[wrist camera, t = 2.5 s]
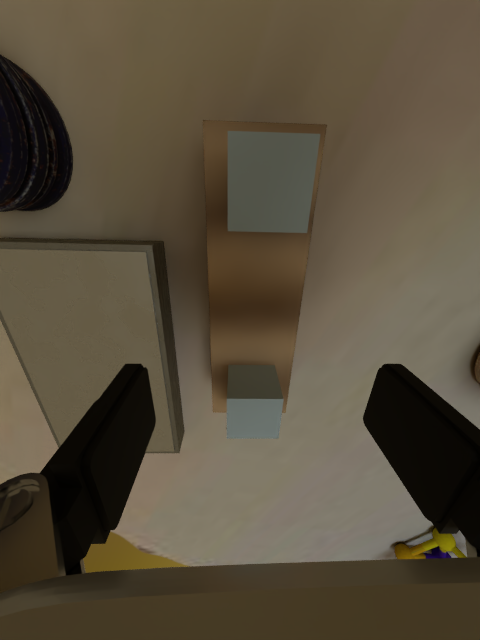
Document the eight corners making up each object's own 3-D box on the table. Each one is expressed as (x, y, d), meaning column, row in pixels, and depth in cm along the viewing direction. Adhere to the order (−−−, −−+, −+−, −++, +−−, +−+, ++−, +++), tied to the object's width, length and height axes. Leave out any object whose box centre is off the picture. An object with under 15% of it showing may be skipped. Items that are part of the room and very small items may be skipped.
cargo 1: (297, 156, 13) (320, 133, 10) (289, 229, 15) (306, 233, 11) (229, 154, 13) (227, 131, 10) (229, 227, 15) (227, 231, 11)
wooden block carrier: (212, 147, 18) (202, 120, 13) (301, 150, 18) (326, 124, 13) (217, 375, 27) (212, 412, 22) (276, 376, 27) (285, 412, 22)
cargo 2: (274, 365, 20) (283, 399, 16) (271, 400, 21) (278, 438, 18) (228, 364, 19) (226, 398, 16) (228, 400, 21) (226, 438, 17)
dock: (163, 241, 20) (151, 245, 17) (184, 431, 30) (178, 454, 27) (2, 237, 20) (-38, 241, 17) (77, 431, 30) (60, 454, 27)
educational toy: (421, 557, 48) (485, 692, 35) (378, 542, 45) (430, 683, 32) (494, 533, 42) (606, 688, 29) (448, 513, 39) (551, 677, 26)
